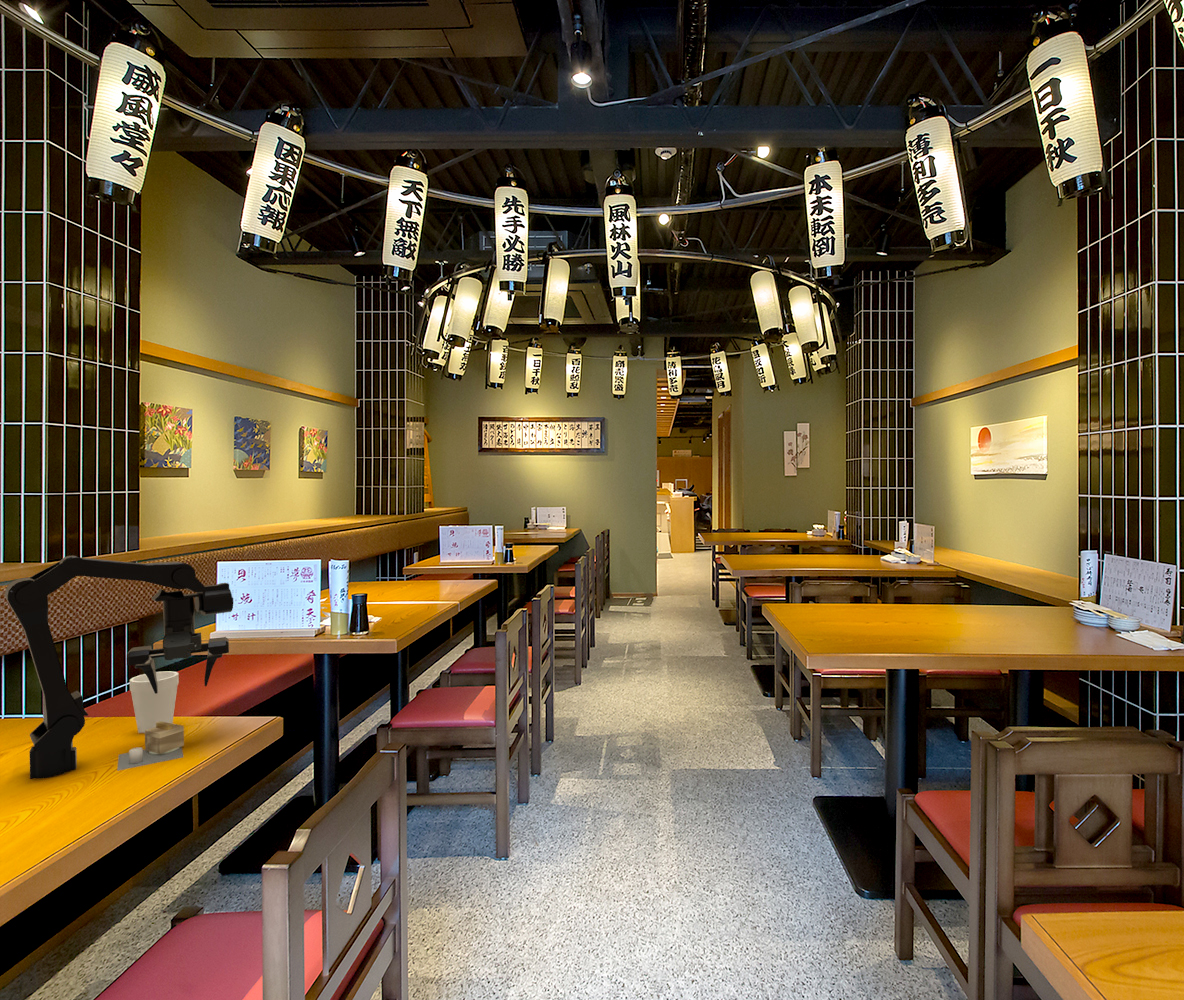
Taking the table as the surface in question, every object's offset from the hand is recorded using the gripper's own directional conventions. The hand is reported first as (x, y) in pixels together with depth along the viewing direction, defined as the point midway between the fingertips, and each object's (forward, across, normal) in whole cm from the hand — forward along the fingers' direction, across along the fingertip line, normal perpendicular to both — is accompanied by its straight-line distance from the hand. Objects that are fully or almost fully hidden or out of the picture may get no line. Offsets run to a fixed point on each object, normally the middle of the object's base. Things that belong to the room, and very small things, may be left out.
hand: (181, 689), depth 142 cm
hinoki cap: (+11, -3, -4) cm, 12 cm away
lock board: (+12, -5, -7) cm, 15 cm away
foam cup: (+12, -6, +13) cm, 19 cm away
